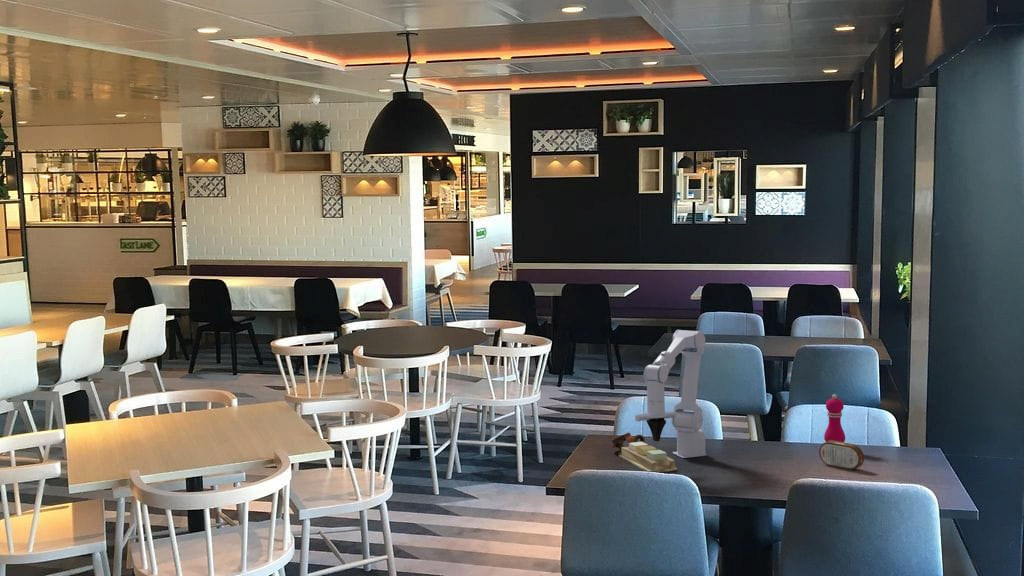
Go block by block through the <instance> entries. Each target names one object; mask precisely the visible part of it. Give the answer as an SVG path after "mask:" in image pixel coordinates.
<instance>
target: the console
mask: <svg viewBox="0 0 1024 576" xmlns="http://www.w3.org/2000/svg"><path fill="white" fill-rule="evenodd" d="M620 451H621V452H620V453H621V455H620V454H619V456H618V457H619V458H620V459H623V460H624V461H625V462H628V463H630V464H632V465H633V466H635V467H637V468H638V469H641V470H643V471H645V470H646V471H645V472H647V471H657V472H656V473H664V472H673V471H678V468H677V467H676V460H675V459H673V458H672V457H669V456H667V459H666V460H657V461H652V460H650V459H648V458H647V456H642V455H640V454H638V452H634V451H632V450H630V449H629V446H628V447H627V446H624V447H621V450H620Z"/></svg>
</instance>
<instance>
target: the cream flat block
mask: <svg viewBox="0 0 1024 576" xmlns="http://www.w3.org/2000/svg"><path fill="white" fill-rule="evenodd" d="M637 449H638V454H640V455H642V456H647V451H653V450H658V448H656V446H653V445H650V444H649V445H648V446H641V447H637Z"/></svg>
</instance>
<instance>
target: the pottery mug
mask: <svg viewBox="0 0 1024 576" xmlns="http://www.w3.org/2000/svg"><path fill="white" fill-rule="evenodd" d="M638 440H639V441H638ZM645 440H646V439H645V437H644V436H643V435H642V434H636V435H632V434H631V433H630V432H626V433H624V434H622V435H619V436H617V437H616V438H613V439H612V441H611V442H612V448H616V449H619V451H621V447H625V446H624V442H625V441H626V442H627V443H628V444H629V443H634V442H644V443H645Z"/></svg>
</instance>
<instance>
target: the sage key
mask: <svg viewBox="0 0 1024 576" xmlns="http://www.w3.org/2000/svg"><path fill="white" fill-rule="evenodd" d="M667 457H668V454H667V452H666V451H663V450H661V449H657V450H653V451H647V458H648V459H650V460H652V461H657V460H666V459H667Z"/></svg>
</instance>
